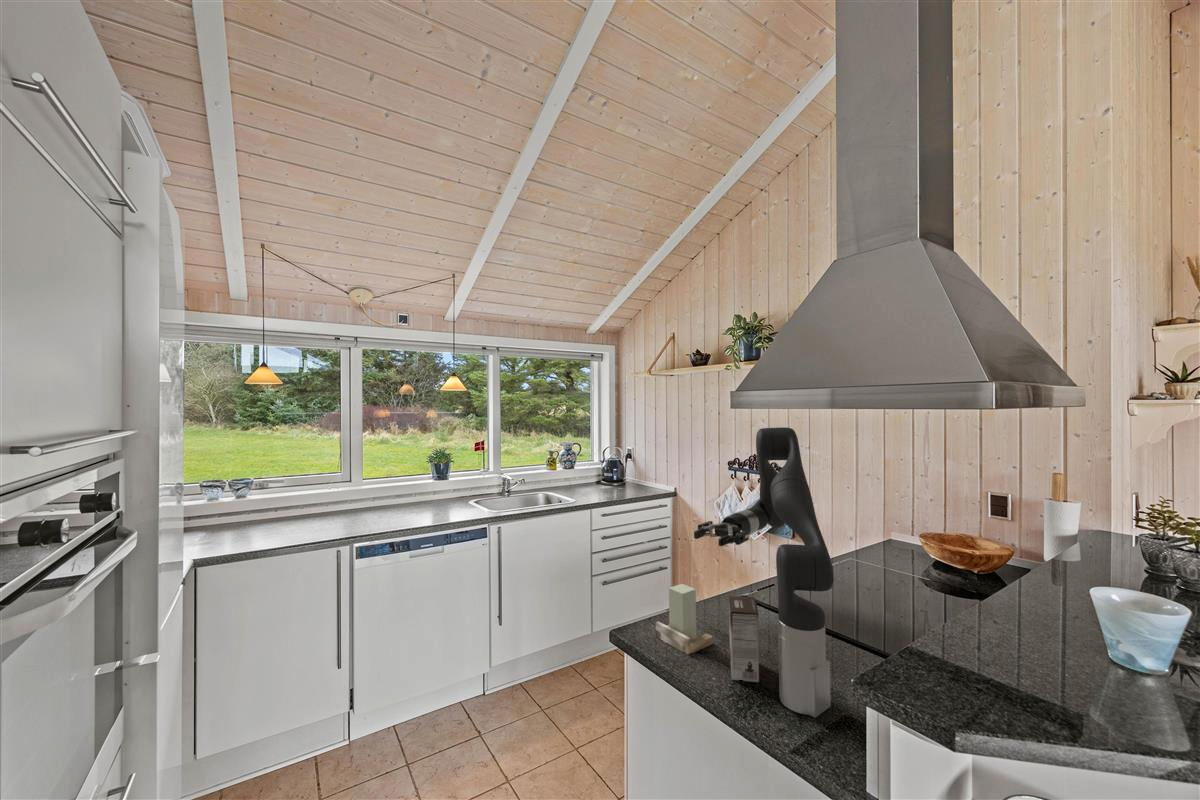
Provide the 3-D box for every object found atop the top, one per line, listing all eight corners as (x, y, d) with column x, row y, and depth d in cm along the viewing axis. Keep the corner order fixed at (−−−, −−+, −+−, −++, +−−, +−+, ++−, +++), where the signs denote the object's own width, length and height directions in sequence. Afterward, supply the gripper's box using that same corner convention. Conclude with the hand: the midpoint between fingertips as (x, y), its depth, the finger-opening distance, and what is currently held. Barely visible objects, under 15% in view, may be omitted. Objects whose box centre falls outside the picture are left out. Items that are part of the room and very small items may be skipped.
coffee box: (729, 659, 122) (728, 594, 122) (756, 661, 120) (755, 596, 120) (731, 680, 113) (730, 610, 113) (760, 683, 111) (759, 612, 111)
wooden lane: (712, 643, 129) (712, 628, 129) (688, 655, 124) (688, 639, 124) (680, 627, 139) (679, 612, 139) (655, 636, 134) (655, 622, 134)
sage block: (696, 641, 131) (695, 589, 131) (683, 647, 128) (682, 593, 128) (682, 634, 135) (682, 583, 135) (669, 640, 132) (668, 588, 132)
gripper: (720, 508, 153) (686, 520, 143) (761, 517, 142) (728, 531, 132) (721, 531, 154) (687, 545, 143) (762, 542, 143) (728, 558, 132)
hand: (707, 539), depth 138 cm, fingers open, 8 cm apart
